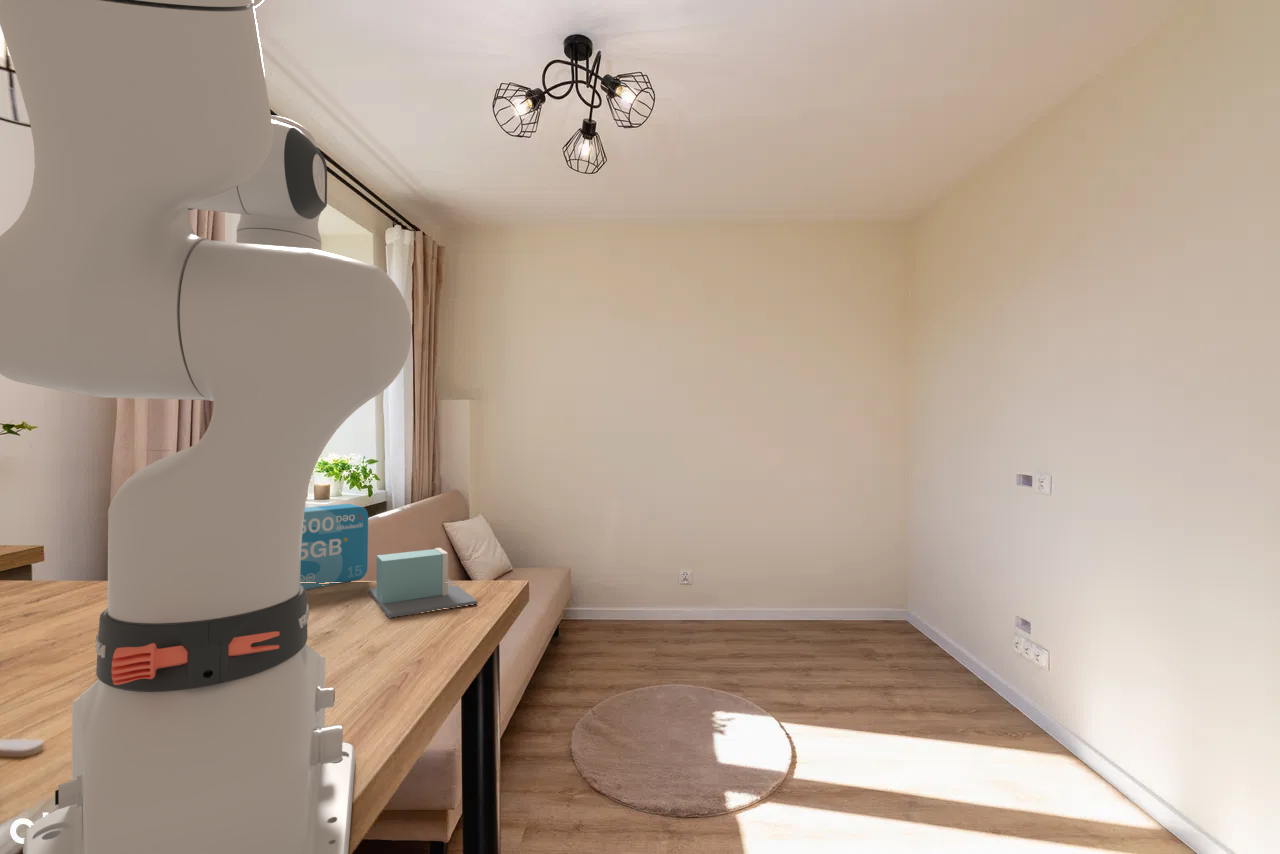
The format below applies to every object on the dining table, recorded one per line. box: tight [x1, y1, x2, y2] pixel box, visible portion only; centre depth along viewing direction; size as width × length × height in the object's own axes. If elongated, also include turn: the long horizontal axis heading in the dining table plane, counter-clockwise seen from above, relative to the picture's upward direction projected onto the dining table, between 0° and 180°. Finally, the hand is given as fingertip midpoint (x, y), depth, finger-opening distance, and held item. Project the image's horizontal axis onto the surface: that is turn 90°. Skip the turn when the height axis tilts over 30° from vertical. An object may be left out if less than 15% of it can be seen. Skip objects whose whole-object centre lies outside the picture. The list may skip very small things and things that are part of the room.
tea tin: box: [376, 547, 449, 604], centre depth 91 cm, size 4×6×9 cm
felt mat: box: [368, 577, 478, 619], centre depth 92 cm, size 14×12×1 cm
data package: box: [300, 503, 369, 591], centre depth 99 cm, size 12×4×12 cm, turn 139°
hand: (278, 379), depth 75 cm, fingers open, 8 cm apart
